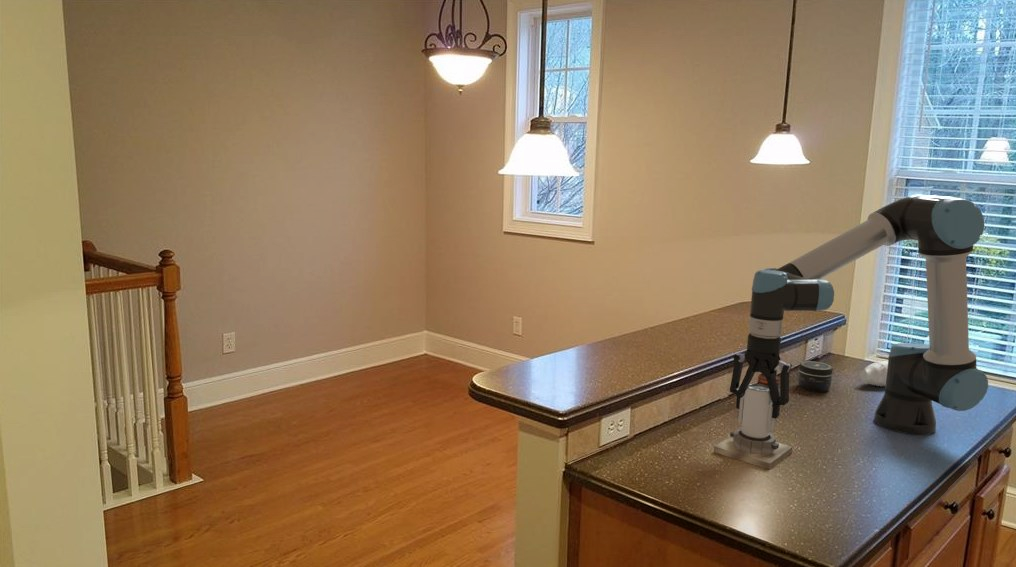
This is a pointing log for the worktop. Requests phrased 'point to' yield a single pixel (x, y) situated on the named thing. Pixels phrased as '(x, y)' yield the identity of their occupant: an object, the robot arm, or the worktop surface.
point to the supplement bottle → (763, 380)
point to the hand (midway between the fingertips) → (755, 425)
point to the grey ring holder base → (753, 449)
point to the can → (756, 411)
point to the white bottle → (875, 373)
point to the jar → (815, 376)
